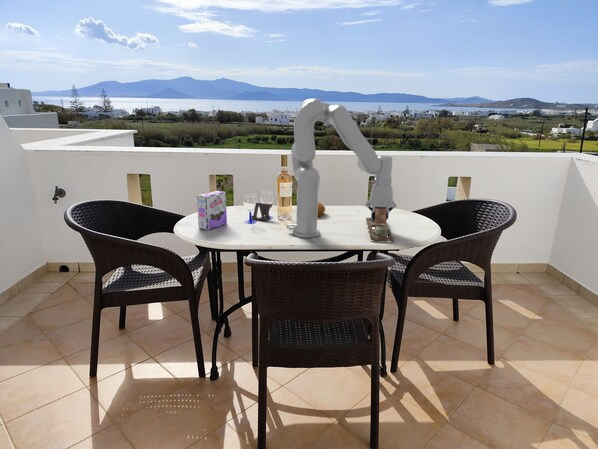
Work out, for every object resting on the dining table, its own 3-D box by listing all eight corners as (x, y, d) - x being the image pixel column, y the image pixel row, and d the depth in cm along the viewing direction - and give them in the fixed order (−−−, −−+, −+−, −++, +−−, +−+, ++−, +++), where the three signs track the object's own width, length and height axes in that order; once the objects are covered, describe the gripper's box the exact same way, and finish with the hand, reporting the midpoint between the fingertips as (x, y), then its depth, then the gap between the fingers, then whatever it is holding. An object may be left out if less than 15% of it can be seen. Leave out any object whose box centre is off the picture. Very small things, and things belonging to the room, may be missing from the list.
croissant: (325, 215, 223) (326, 201, 222) (323, 219, 208) (325, 204, 207) (300, 213, 225) (300, 199, 224) (296, 217, 210) (297, 202, 208)
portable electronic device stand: (250, 219, 204) (250, 204, 202) (258, 216, 211) (258, 201, 209) (265, 221, 201) (265, 206, 198) (273, 218, 208) (273, 202, 205)
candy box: (207, 230, 184) (205, 196, 180) (198, 228, 187) (196, 194, 183) (227, 224, 195) (226, 191, 191) (218, 222, 199) (217, 190, 194)
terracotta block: (374, 222, 186) (375, 208, 184) (373, 219, 191) (374, 205, 189) (385, 223, 186) (386, 208, 183) (384, 220, 190) (385, 206, 188)
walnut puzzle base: (371, 241, 174) (371, 230, 173) (366, 221, 205) (366, 211, 204) (392, 242, 174) (393, 231, 172) (384, 222, 205) (385, 212, 203)
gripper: (364, 183, 180) (362, 221, 185) (402, 184, 178) (398, 223, 184) (363, 180, 187) (361, 217, 192) (399, 181, 186) (396, 218, 191)
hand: (379, 219), depth 188 cm, fingers closed on terracotta block, 5 cm apart
